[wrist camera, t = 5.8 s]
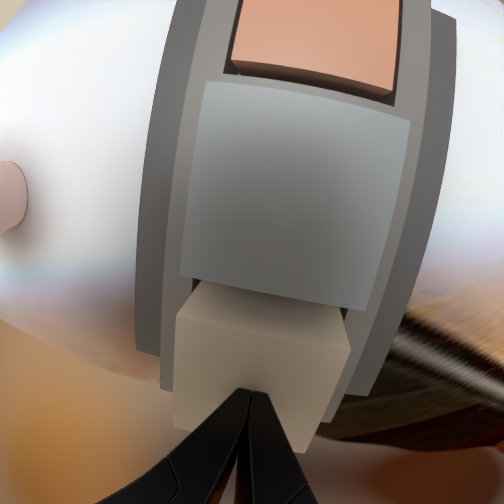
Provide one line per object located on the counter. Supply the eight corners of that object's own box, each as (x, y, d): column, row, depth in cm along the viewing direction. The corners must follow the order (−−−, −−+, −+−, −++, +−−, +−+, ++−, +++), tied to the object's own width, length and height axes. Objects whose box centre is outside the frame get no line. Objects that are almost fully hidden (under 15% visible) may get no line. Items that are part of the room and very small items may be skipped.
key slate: (379, 130, 8) (410, 121, 6) (348, 273, 9) (364, 311, 7) (228, 100, 8) (205, 81, 6) (206, 245, 10) (179, 274, 7)
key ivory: (338, 305, 10) (351, 349, 7) (304, 404, 11) (304, 453, 9) (202, 278, 10) (176, 315, 8) (192, 381, 11) (172, 426, 9)
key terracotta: (381, 4, 8) (399, -27, 6) (370, 105, 9) (391, 90, 7) (264, -18, 8) (257, -54, 6) (244, 80, 10) (231, 59, 7)
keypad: (446, 26, 9) (478, 2, 6) (364, 383, 14) (374, 426, 11) (193, -21, 9) (170, -55, 6) (144, 338, 14) (117, 374, 12)
